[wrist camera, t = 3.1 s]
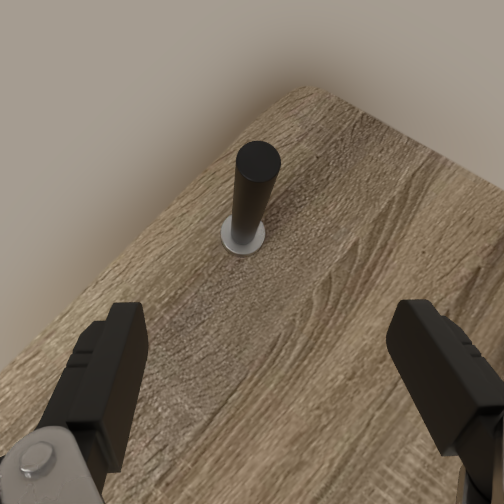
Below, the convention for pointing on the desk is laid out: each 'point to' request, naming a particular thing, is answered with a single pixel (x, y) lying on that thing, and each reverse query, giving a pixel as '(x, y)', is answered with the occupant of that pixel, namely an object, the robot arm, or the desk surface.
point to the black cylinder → (250, 198)
